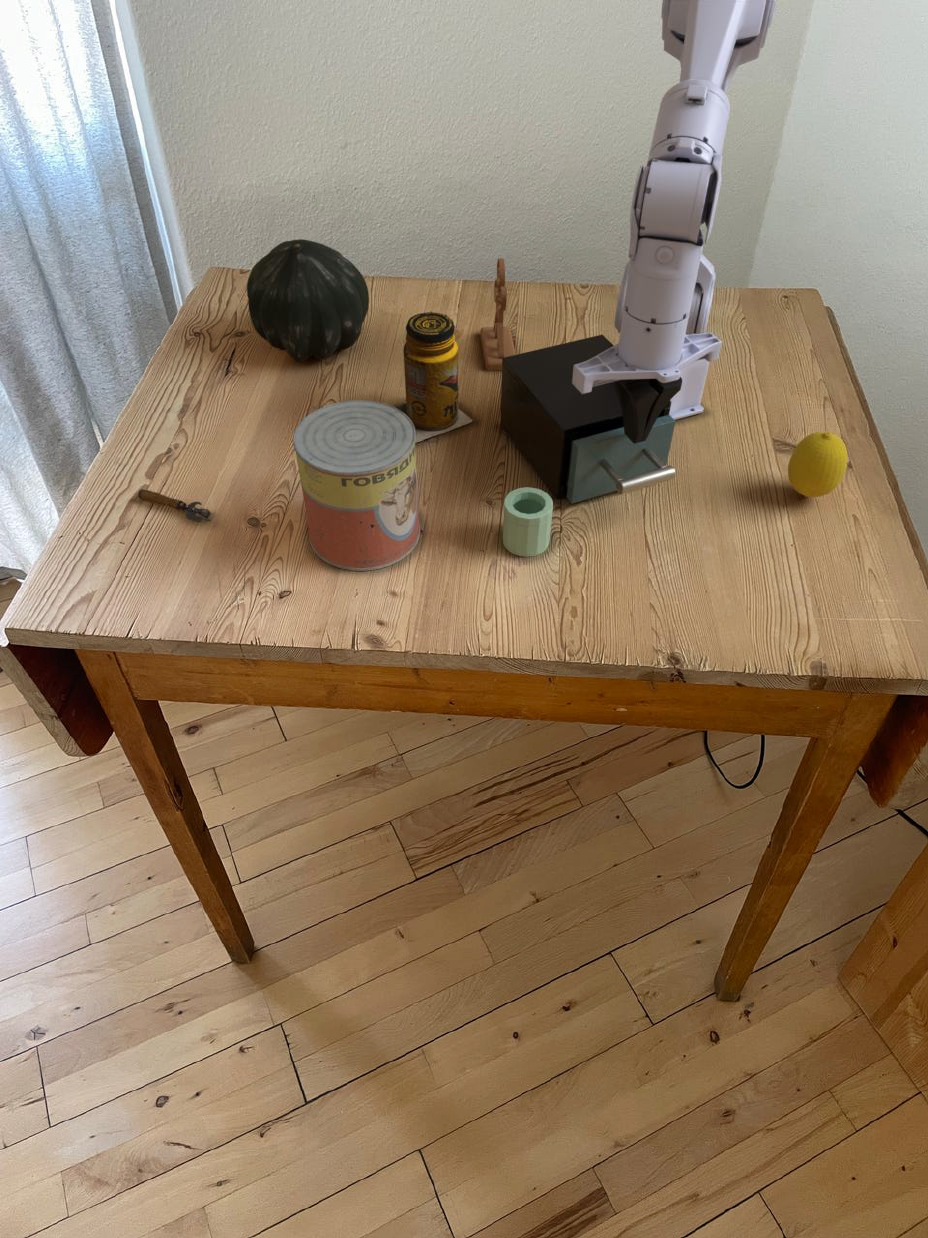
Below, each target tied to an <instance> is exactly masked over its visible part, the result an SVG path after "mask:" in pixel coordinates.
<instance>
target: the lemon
mask: <svg viewBox="0 0 928 1238" xmlns="http://www.w3.org/2000/svg"><path fill="white" fill-rule="evenodd" d="M848 457H849V456H848V450H847V447H846V444H845V442H844V441H843V440H842V439H841V438H840V437H839V436H838V435H836V434H834V433H832V432H831V431H817V432H813V433H810V434H808V435H806V436H805V437H803V438H802V440H800V442H799V443H798V444H797V445H796V446H795V448H794V450H793V451H792V453H791V456H790V458H789V462H788V466H787V477H788V481H789V483H790V485H791V486H792V488H793V489H794V490H795V491H796V493H798V494H800V495H802V496H803V497H805V498H819V497H823V496H825V495H828V494H830V493H831V492H832V491H834V490H835V489H836V488H838V486H839V484H840V483H841V481H843V479H844V476H845V474H846V471H847V467H848Z"/></svg>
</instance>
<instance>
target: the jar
mask: <svg viewBox="0 0 928 1238" xmlns="http://www.w3.org/2000/svg"><path fill="white" fill-rule="evenodd" d="M553 510H554V502H553V499H552V498H551V496H550V494H549V493H548V492H545V491H544V490H542V489H540V488H536V487H529V486H526V487H519V488H516V489H513V490H511V491H510V492H508V494H506V496H505V497H504V499H503V518H502V519H503V520H502V544H503V546H504V548H505V549H506V550H507V551H508V552H509V553H511V554H513V555H515V556H519V557H526V558H530V557H536V556H539V555H541V554H543V553H544V552H545V551H546V550H547V549H548V547H549V545H550V542H551V541H550V540H551V534H552V533H551V531H552V522H553V521H552V520H553V512H554V511H553Z"/></svg>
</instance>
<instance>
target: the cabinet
mask: <svg viewBox="0 0 928 1238" xmlns="http://www.w3.org/2000/svg"><path fill="white" fill-rule="evenodd" d="M613 346H615V345H614V344H613V343H612V342H611V341H610V340H609V339H608V338H607V337H606V336H605V335H604V334H599V335H598V334H597V335H593V336H590V337H589V336H588V337H586V338H581V339H577V340H573V341H567V342H564V343H561V344H560V343H559V344H555V345H552V346H547V347H543V348H538V349H533V350H530V351H526V352H521V353H517V354H516V355H513V356H508V357H504V358H502V370H501V384H500V408H499V409H500V411H499V428H501V430H502V431H503V432H504V434H505V435H506V436H507V437H508V439H509V440H510V441H511V442H512V444H513V445H514V447H515V449H517V450H518V452H519V453H520V454H521V456H522V457H523V458H524V460H525V461H526V462H527V463H528V464H529V466H530V467H531V468H532V470H533V471H534V472H535V474H536V475H537V476H538V477H539V479H540V480H541V481H542V483H543V484H544V486H546V488H547V489H548V490H549V492H550V493H551V494H552V496H553V497H554V498H555V500H557V501H559V500H563V499H566V498H567V488H568V486H567V487H566V486H565V485H564V481H565V472H566V462H567V453H568V443H569V434H573V433H576V432H580V431H584V430H588V429H591V428H595V427H599V426H603V425H606V424H610V423H614V422H618V421H621V420H623V416H622V410H621V405H620V401H619V398H618V395H617V392H616V389H615V387H614V384H613V382H610V383H606V384H602V385H598V386H594V387H592V391H591V392H589V393H585V394H582V393H581V392H580V391H579V390H578V389H577V388H576V387H575V386H574V385H573V384H572V378H573V368H574V365H575V364H579V363H582V362H585V361H587V360H589V359H591V358H593V357H595V356H597V355H598V354H600V353H602V352H604V351H606V350H607V349H609V348H611V347H613ZM670 407H671V401H669V402H668V403H667V405H666V406H665V407H664V409H663V410H662V411H661V413H660V415H659V416H658V418H659V417H663V416H667V415H669V412H670Z"/></svg>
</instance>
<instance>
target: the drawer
mask: <svg viewBox="0 0 928 1238" xmlns="http://www.w3.org/2000/svg"><path fill="white" fill-rule="evenodd" d="M675 426H676V420H674V419H673V418H672V417H671V416H670V415H667V416H663V417H659V418H657V420H656V421H655V423H654V425H653V427H652V429H651V431H650V433H649V435H648V437H647V439H646V441H643V442H639V443H636V444H634V443H633V442H632V441H631V440H630V439H629V438H628V437H627V436H626V435H625V434H624V424H623V420H621V421H618V422H614V423H610V424H606V425H603V426H599V427H595V428H591V429H588V430H584V431H580V432H576V433H573V434H569V443H568V453H567V462H566V472H565V481H564V485H565V486H566V487H567V486H568V488H567V497H566V498H567V499H568V501H569V502H570V503H571V504H575V503H579V502H582V501H585V500H586V501H587V500H588V499H593V498H596V497H599V496H603V495H607V494H610V493H613V492H617V493H618V494H619V495H624V494H627V493H630V492H633V491H634V492H635V491H638V490H641V489H644V488H648V487H651V486H654V485H658V484H661V483H665V482H669V481H672V480H674V479H676V475H677V474H676V470H675V468H674V466H673V465H667V464H668V460H669V454H670V449H671V445H672V439H673V435H674V431H675Z"/></svg>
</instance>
